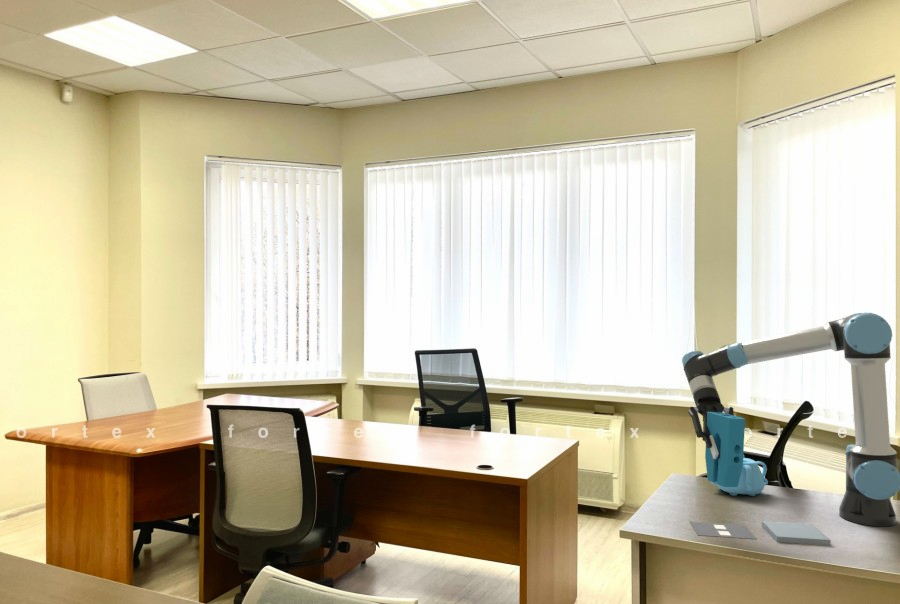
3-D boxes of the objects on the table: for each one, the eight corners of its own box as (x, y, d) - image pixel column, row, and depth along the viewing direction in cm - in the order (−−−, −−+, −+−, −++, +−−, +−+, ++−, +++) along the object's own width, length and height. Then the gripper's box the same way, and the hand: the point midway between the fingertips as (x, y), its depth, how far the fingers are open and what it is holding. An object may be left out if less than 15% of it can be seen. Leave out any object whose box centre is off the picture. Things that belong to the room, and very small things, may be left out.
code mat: (745, 526, 200) (745, 525, 200) (756, 539, 188) (756, 538, 188) (689, 522, 202) (689, 521, 202) (697, 536, 190) (697, 534, 190)
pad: (811, 528, 198) (811, 523, 198) (830, 545, 184) (830, 539, 184) (761, 525, 200) (761, 520, 200) (776, 541, 186) (776, 536, 186)
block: (743, 488, 190) (746, 418, 190) (727, 488, 189) (731, 418, 189) (717, 477, 202) (720, 412, 202) (702, 477, 200) (706, 411, 201)
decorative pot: (748, 501, 225) (748, 461, 225) (705, 490, 238) (706, 452, 238) (772, 494, 235) (773, 456, 235) (730, 484, 248) (731, 447, 248)
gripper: (730, 400, 213) (753, 463, 196) (672, 400, 213) (691, 463, 196) (737, 386, 208) (762, 449, 191) (678, 385, 207) (698, 449, 191)
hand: (726, 456), depth 194 cm, fingers closed on block, 5 cm apart
